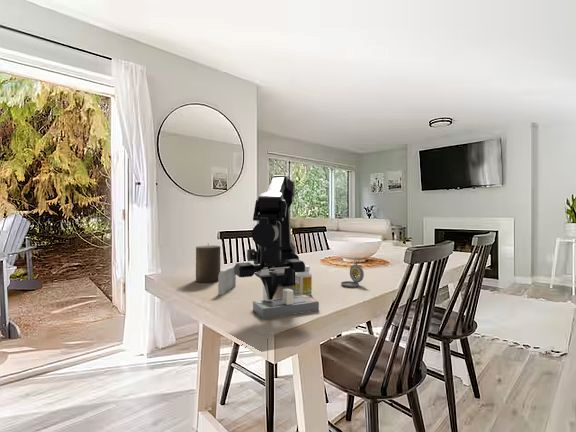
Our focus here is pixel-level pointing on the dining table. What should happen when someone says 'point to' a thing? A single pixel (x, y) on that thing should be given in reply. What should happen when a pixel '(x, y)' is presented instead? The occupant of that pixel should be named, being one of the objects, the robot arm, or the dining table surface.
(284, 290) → the block
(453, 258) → the dining table surface
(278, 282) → the robot arm
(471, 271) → the dining table surface
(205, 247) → the pillar candle
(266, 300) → the block
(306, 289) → the supplement bottle
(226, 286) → the light switch
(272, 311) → the panel
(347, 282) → the pocket watch
